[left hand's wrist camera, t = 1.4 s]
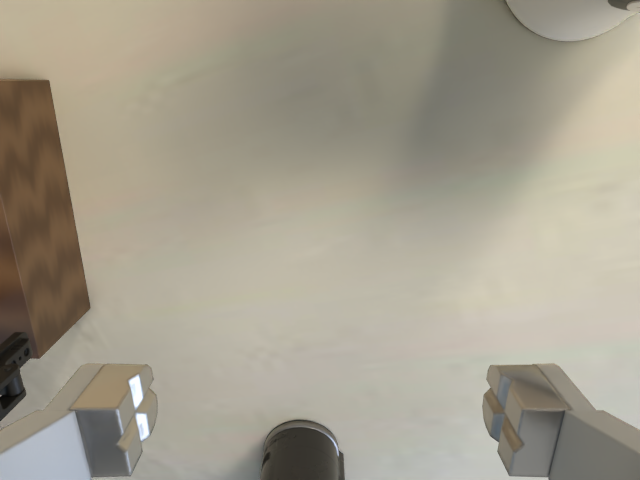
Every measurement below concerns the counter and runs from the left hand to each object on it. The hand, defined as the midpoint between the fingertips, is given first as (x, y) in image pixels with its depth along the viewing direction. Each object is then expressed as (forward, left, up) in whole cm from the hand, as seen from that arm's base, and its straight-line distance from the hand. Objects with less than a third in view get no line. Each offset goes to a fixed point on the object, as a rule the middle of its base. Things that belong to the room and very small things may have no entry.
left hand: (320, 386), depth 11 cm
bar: (+6, -28, -34) cm, 44 cm away
